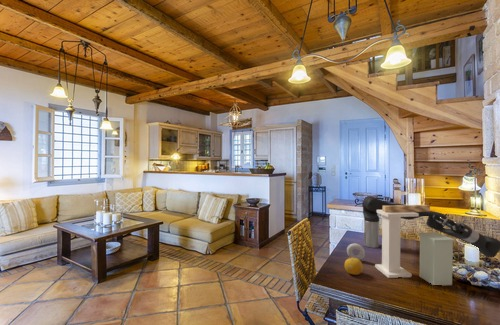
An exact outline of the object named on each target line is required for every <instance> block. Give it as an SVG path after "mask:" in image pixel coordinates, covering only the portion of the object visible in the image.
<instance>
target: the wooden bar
mask: <svg viewBox="0 0 500 325" xmlns="http://www.w3.org/2000/svg"><path fill="white" fill-rule="evenodd" d="M382 211H383V212H428V211H431V206H430V205H429V204H403V205H389V206H383V208H382Z"/></svg>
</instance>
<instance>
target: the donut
mask: <svg viewBox="0 0 500 325" xmlns="http://www.w3.org/2000/svg"><path fill="white" fill-rule="evenodd" d="M364 248H365V247H363V245H361V244H359V243H356V242H354V243H350V244H348V246H347V247H346V253H347V255H348V257H349V258H357V259H359V260H360V261H361V260H363V259H364V258H365V257H366V251H365V250H366V249H364ZM354 250H357V251H358V253H354Z"/></svg>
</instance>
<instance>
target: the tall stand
mask: <svg viewBox="0 0 500 325" xmlns="http://www.w3.org/2000/svg"><path fill="white" fill-rule="evenodd" d="M377 214H378V215H381V216H382V217H381V218H382V220H381V222H382V224H381V227H382V228H381V230H382V231H381V233H382V234H381V263H379V264H378V263H376V264H374V267H375V268H376V269H377V270H378V271H379V272H381V273H382V274H383V275H384V276H386V277H387V279H395V278H396V279H397V278H398V277H402V278H412V276H413V275H412V273H411V272H409V271H408V270H406V269H405V268H403V267H401V230H402V229H401V228H402V227H401V219H402V218H401V217H416V216H419V213H415V212H383V211H382V210H377Z"/></svg>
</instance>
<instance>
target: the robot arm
mask: <svg viewBox="0 0 500 325" xmlns="http://www.w3.org/2000/svg"><path fill="white" fill-rule="evenodd" d="M389 205H404V204H403V203H395V202H394V203H393V202H392V203H391V202H387V201H384V200H381V199H379V198H377V197H374V196H373V195H372V196H371V195H369V196H366V197H365V198H364V199H363V202H362V214H363V221H364V222H363V246H365V247H367V248H371V249H377V248H378V249H379V247H380V217H379V213H377V210H382V208H383V206H389ZM415 213H419V216H416V217H401V219H403V220H406V221H407V220H415V219H418V218H422V217H427V219H426V222H425V223H426V226H427V227H429V228H430V229H433V230H435V231H438V232H439V233H441V234H444V235H446V236H447V235H448V236H451V237H454V238H456V239H458V240H460V239H461V240H460V241H462V242H464V241H465V242H464V243H466V242H468V243H471V244H472V245H474V246H473V247H475V246H476V247H478V248H479V251H480V252H479V251H478V252H479V253H480V254H482V256H485V257H487V258H495V257H497V254H498V253H499V252H500V240H499V239H497V238H494V237H490V236H485V235H483V234H482V233H480V232H478V231H476V230H475V229H474V228H472V227H470V226H469V225H467V224H465V223H464V222H457V221H453V220H452V219H451V218H447V215H445V214H444V213H441V212H438V211H434V210H430V211H428V212H415ZM468 243H467V244H468ZM472 245H471V246H472ZM476 247H475V248H476Z"/></svg>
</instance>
